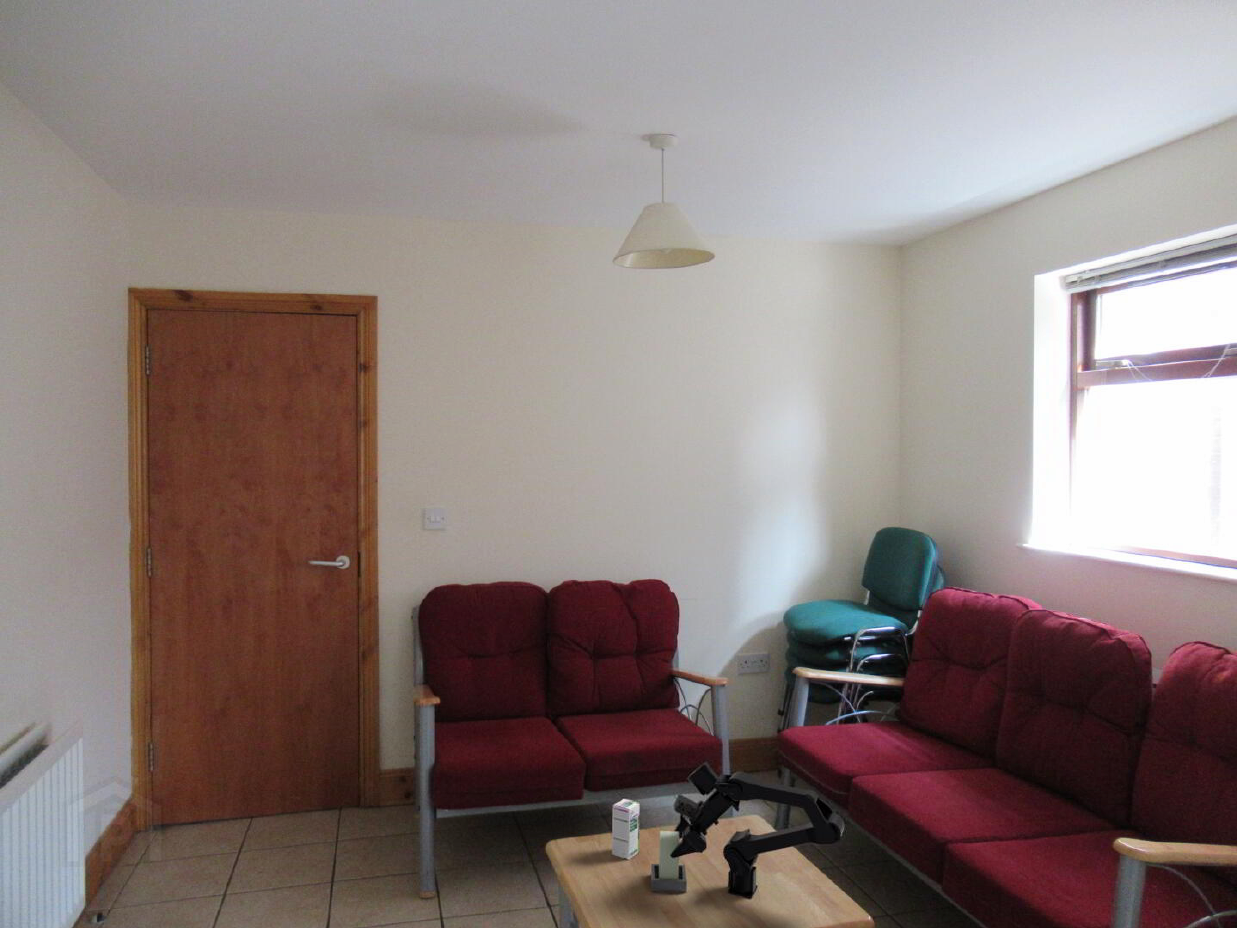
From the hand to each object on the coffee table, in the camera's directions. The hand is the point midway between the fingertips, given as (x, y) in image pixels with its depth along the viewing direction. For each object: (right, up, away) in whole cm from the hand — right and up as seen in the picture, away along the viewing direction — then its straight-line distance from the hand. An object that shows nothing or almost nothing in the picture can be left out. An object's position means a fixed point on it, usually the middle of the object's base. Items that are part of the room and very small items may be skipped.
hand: (670, 848), depth 237 cm
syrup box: (-12, -9, +17) cm, 23 cm away
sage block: (-1, -9, 0) cm, 9 cm away
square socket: (-1, -9, 0) cm, 9 cm away
